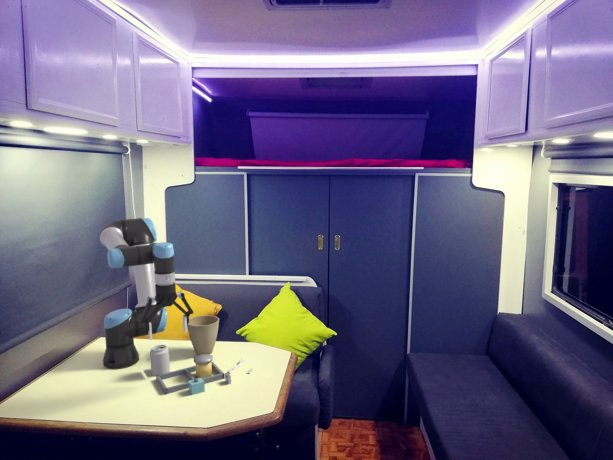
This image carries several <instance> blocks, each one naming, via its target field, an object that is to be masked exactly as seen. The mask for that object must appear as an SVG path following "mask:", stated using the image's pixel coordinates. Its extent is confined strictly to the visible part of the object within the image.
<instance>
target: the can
mask: <svg viewBox="0 0 613 460" xmlns="http://www.w3.org/2000/svg"><path fill="white" fill-rule="evenodd" d="M169 350H170V349H169V348H168V347H167V345H166V344H158V345H154V346H152V347H151V350H150V352H149V357H150V370H151V372H150V373H151V375H152V376H154V377H156V375H160V374H164V373H168V372H171V368H170V367H171V366H170V365H171V364H170V351H169Z"/></svg>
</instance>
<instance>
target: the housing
mask: <svg viewBox="0 0 613 460" xmlns="http://www.w3.org/2000/svg"><path fill="white" fill-rule="evenodd" d="M211 363H212V371H214V372H215V373H216V374H214V375H212V376H210V377H206V378H202V380H203V381H204V385H206V384H210V383H214V382H217V381H221V380H225V373H224V372H223V370H221V369H220V368H219V367H218V365H217V364H216V363H215V362H214V361H211ZM192 373H196V365H193V366H189V367H185V368H180V369H177V370H173V371H170V372H168V373H164V374H160V375H156V376H155V378H156V382H157V384H158V385H159V387H160V388H161V389H162V391H163V394H165V395H168V394H173V393H176V392H180V391H184V390H187V389H188V390H189V384H188V381H190V380H194V378H195V377H194V376H193V374H192ZM183 375H185V376H186V377H187V379H188V381H187V382H184V383H183V382H182V383H180V384H176V385H172V386H168V387H167V386H166V384H165V383H164V381H163V380H167V379H171V378H175V377H179V376H183Z"/></svg>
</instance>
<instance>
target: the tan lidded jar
mask: <svg viewBox="0 0 613 460" xmlns="http://www.w3.org/2000/svg"><path fill="white" fill-rule="evenodd" d="M213 359H214V357H213V355H212V354H201V355H196V356H195V357H193V362H194V364H195V366H196V371H195V374H196V375H195V378H206V377H210V376H213V369H212V363H211V362H213Z"/></svg>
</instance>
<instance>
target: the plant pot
mask: <svg viewBox="0 0 613 460" xmlns="http://www.w3.org/2000/svg"><path fill="white" fill-rule="evenodd" d="M219 323H220V318H219V317H218V316H215V315H208V314H207V315H206V314H205V315H196V316H193V317H189V323H188V324H187V333H188V335H189V336H188V337H189V340H190V342H191V344H192V347H193V349H194V352H195V354H196V356H198V355H201V354H209V355H212V353H213V352H214V348H215V345H216V341H217V338H218V331H219V326H220V325H219Z"/></svg>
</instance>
